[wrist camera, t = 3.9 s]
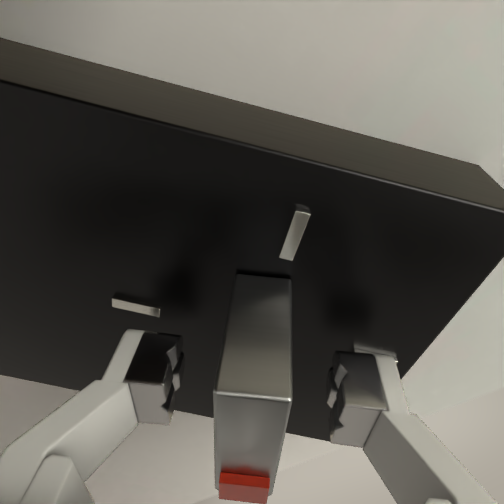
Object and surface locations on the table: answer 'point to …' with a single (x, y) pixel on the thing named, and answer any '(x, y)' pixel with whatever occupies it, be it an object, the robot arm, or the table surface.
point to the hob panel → (218, 229)
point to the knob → (253, 388)
